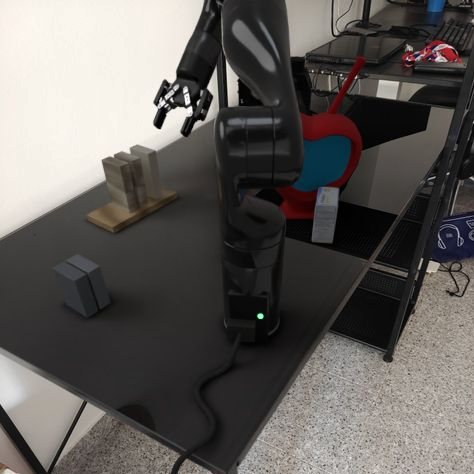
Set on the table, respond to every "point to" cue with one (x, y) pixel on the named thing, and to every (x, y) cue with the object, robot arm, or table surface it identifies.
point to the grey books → (82, 285)
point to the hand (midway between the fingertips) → (169, 131)
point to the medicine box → (325, 215)
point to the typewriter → (300, 82)
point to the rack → (126, 194)
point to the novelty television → (324, 155)
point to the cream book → (149, 170)
